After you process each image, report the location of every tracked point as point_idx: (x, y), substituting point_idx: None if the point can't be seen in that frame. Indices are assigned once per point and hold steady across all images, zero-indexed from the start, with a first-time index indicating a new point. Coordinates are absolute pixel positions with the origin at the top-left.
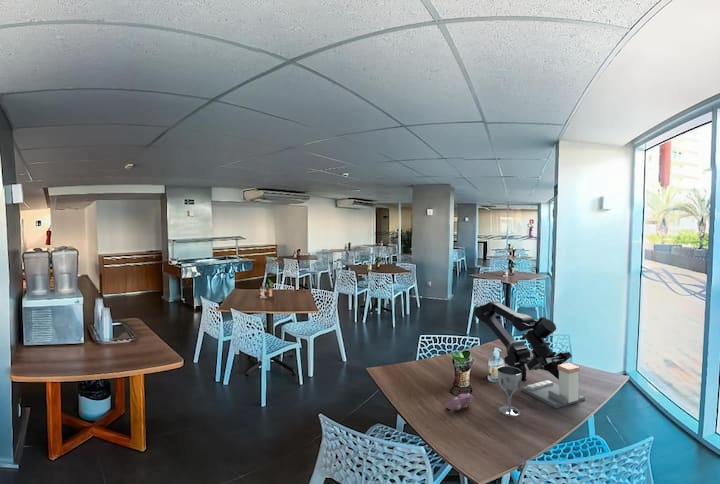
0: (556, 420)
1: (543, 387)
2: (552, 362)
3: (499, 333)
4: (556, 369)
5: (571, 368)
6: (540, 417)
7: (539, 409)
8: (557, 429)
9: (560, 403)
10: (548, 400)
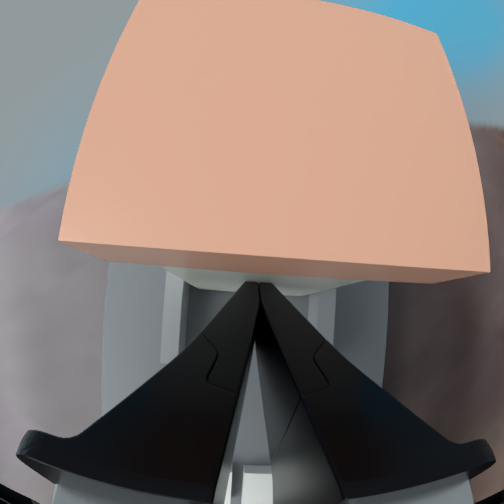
0: None
1: (235, 462)
2: (446, 459)
3: None
4: (347, 365)
5: (359, 15)
6: (492, 232)
7: (456, 287)
8: (486, 145)
9: None
10: (379, 313)
